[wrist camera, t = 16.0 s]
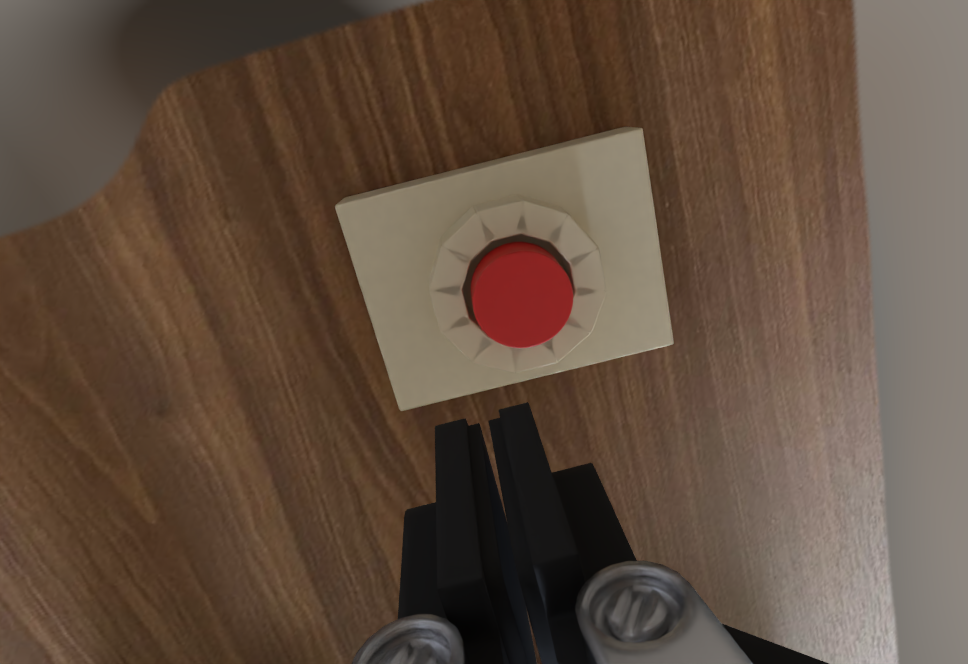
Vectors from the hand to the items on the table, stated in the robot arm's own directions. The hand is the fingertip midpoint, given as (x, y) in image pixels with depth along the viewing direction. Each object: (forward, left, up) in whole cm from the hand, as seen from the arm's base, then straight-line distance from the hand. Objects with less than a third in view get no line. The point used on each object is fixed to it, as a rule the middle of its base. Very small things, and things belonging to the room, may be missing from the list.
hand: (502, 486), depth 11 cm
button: (+2, 0, -13) cm, 14 cm away
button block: (+2, 0, -17) cm, 17 cm away
